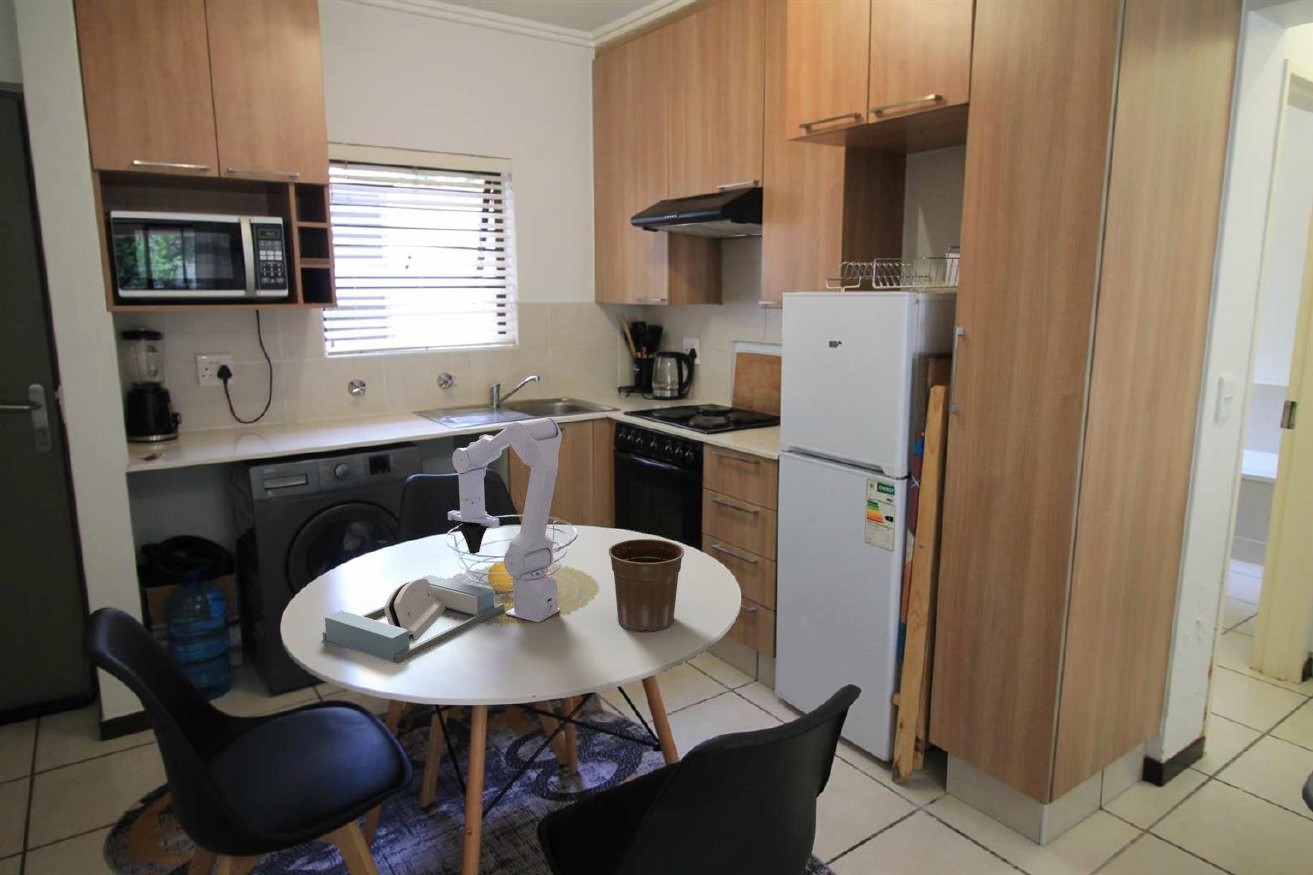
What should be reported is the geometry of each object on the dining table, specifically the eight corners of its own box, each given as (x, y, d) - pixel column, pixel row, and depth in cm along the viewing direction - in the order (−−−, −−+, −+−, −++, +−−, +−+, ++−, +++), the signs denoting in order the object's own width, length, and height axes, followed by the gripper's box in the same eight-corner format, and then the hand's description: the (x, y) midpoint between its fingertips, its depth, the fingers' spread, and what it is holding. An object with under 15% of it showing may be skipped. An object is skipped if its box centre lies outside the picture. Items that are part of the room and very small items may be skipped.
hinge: (416, 640, 162) (398, 596, 161) (396, 646, 163) (377, 602, 162) (446, 608, 179) (430, 568, 177) (428, 614, 179) (411, 574, 178)
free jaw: (494, 611, 177) (493, 590, 176) (480, 618, 173) (479, 597, 172) (430, 594, 187) (429, 574, 186) (415, 601, 183) (414, 580, 182)
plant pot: (698, 617, 174) (698, 546, 171) (656, 643, 160) (656, 567, 158) (638, 601, 183) (637, 534, 180) (594, 625, 169) (593, 553, 167)
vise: (504, 609, 178) (503, 588, 177) (397, 663, 152) (396, 639, 151) (433, 591, 189) (432, 571, 188) (323, 638, 163) (321, 616, 162)
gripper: (507, 497, 186) (509, 552, 188) (461, 489, 193) (464, 543, 195) (486, 504, 180) (488, 561, 182) (440, 496, 187) (443, 551, 189)
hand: (474, 552), depth 188 cm, fingers closed
